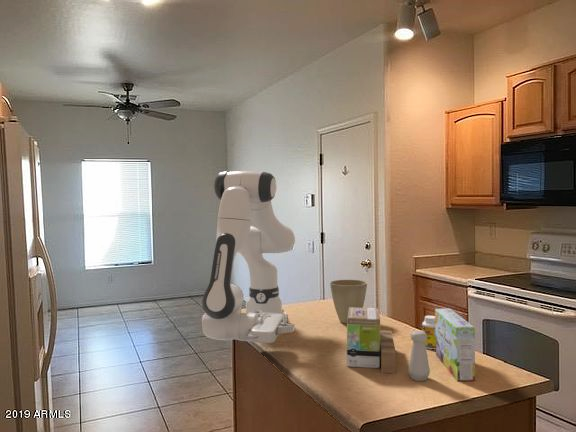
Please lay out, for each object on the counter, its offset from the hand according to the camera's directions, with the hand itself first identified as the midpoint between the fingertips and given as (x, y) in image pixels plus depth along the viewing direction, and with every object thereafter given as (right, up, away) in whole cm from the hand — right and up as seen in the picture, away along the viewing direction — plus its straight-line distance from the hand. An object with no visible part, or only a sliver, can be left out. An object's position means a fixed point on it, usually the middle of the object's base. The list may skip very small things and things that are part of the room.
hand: (293, 328), depth 149 cm
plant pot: (+23, -7, +41) cm, 47 cm away
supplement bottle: (+46, -8, +7) cm, 47 cm away
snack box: (+47, -9, -12) cm, 49 cm away
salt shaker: (+34, -9, -20) cm, 41 cm away
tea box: (+22, -9, -4) cm, 24 cm away
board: (+29, -9, -5) cm, 30 cm away
